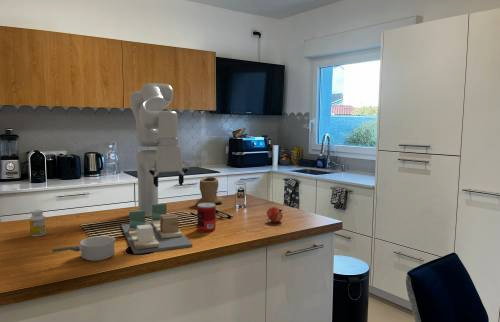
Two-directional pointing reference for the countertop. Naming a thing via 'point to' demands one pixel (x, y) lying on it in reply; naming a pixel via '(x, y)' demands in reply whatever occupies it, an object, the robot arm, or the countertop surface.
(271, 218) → the pomegranate
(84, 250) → the saucepan
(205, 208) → the canned food
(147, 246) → the broken strip
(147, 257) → the countertop surface
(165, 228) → the cube
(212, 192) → the stone cup
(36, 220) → the supplement bottle
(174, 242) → the mat
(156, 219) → the strip
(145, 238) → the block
